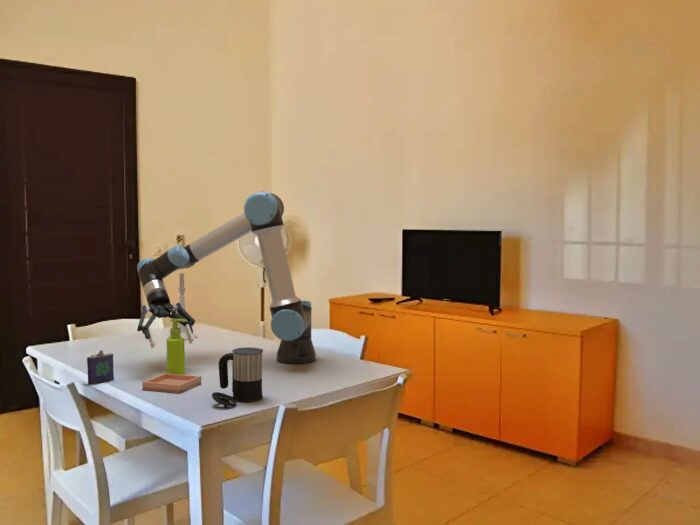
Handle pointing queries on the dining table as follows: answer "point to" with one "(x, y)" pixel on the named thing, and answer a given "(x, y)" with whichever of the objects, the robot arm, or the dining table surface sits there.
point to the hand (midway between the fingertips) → (172, 343)
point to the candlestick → (182, 303)
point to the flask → (100, 368)
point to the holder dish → (171, 383)
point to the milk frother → (241, 376)
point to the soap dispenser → (175, 350)
